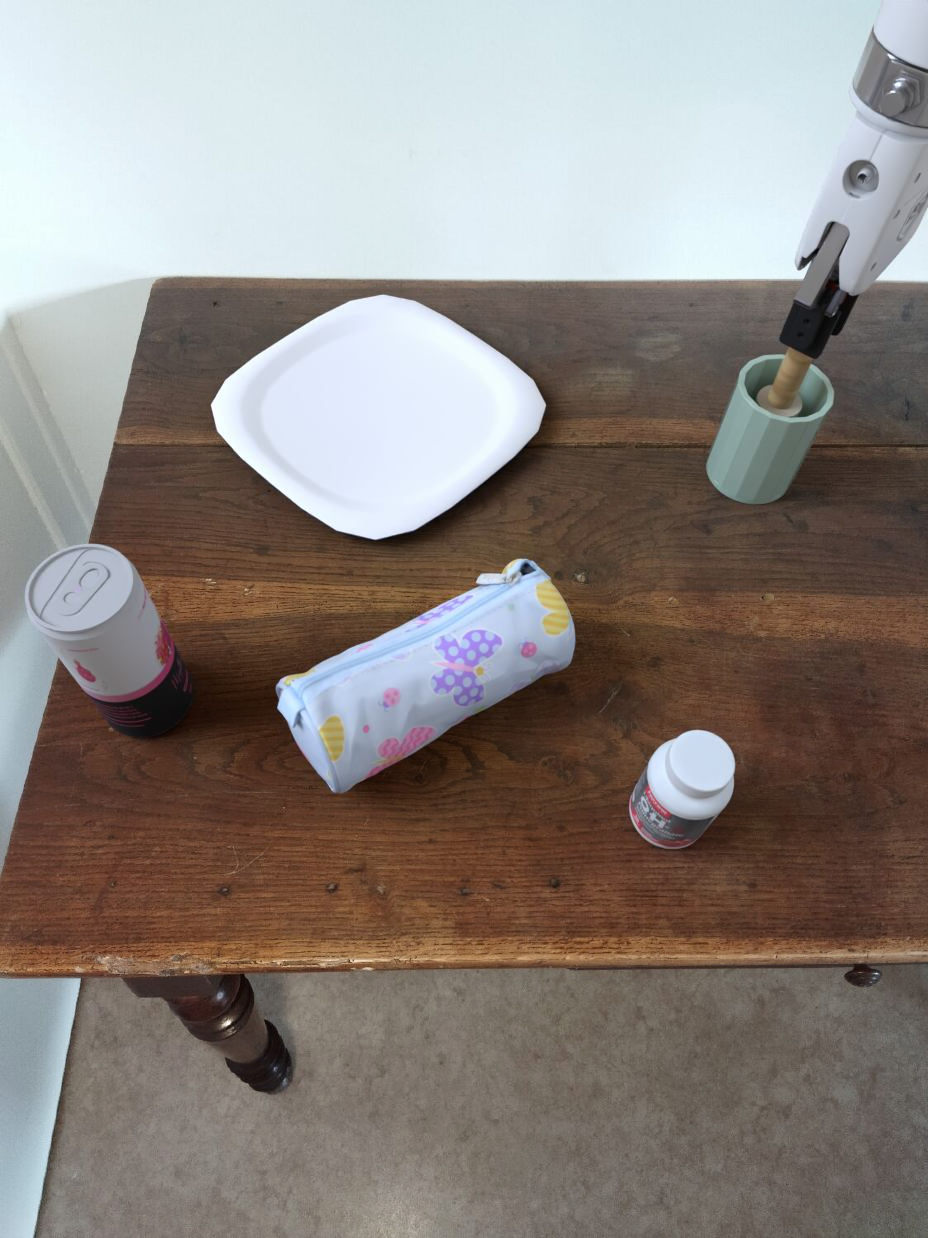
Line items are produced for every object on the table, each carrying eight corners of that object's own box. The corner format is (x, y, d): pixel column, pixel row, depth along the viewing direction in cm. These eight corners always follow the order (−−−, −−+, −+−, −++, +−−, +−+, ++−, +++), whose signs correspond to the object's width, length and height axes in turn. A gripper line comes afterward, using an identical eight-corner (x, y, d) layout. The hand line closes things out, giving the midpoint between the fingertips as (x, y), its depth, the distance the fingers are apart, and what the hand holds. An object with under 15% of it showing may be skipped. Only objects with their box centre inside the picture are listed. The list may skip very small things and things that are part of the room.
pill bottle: (617, 831, 61) (646, 779, 52) (641, 764, 63) (673, 704, 55) (692, 864, 59) (734, 816, 51) (714, 795, 62) (758, 738, 54)
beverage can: (213, 682, 66) (159, 567, 53) (158, 755, 63) (86, 651, 50) (142, 646, 67) (72, 525, 54) (85, 715, 64) (-3, 605, 51)
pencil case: (513, 596, 70) (523, 523, 62) (579, 678, 67) (599, 612, 59) (276, 725, 64) (253, 662, 56) (334, 824, 60) (318, 771, 52)
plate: (576, 416, 81) (579, 402, 79) (375, 580, 71) (374, 568, 69) (384, 286, 89) (383, 272, 88) (181, 416, 79) (176, 402, 78)
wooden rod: (785, 449, 76) (873, 269, 60) (764, 474, 74) (849, 295, 59) (748, 429, 77) (825, 247, 62) (727, 453, 75) (801, 273, 60)
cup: (805, 467, 78) (850, 383, 70) (764, 518, 75) (806, 436, 67) (732, 427, 81) (767, 341, 72) (690, 475, 77) (721, 390, 69)
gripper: (931, 164, 45) (803, 423, 60) (1043, 43, 52) (902, 304, 67) (799, 110, 47) (709, 372, 63) (922, 1, 54) (813, 262, 70)
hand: (809, 335), depth 65 cm, fingers closed on wooden rod, 2 cm apart
